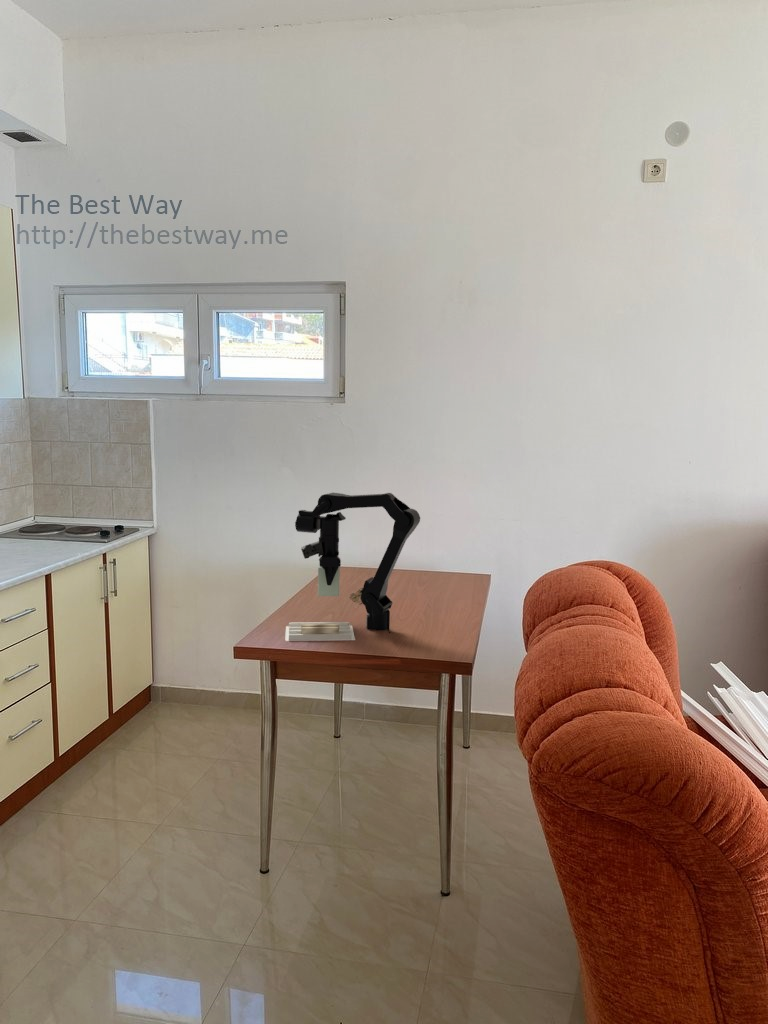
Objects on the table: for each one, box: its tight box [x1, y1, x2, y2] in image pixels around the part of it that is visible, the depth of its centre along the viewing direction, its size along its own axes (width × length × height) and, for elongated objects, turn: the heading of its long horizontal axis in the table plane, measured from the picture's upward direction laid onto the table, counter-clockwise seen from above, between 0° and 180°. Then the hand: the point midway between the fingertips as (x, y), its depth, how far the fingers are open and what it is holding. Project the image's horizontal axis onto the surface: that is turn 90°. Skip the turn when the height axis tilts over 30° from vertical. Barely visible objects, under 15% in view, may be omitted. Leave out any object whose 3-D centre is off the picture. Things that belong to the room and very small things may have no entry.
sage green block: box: [317, 565, 341, 597], centre depth 242 cm, size 6×3×9 cm, turn 96°
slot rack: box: [284, 621, 356, 642], centre depth 231 cm, size 20×15×2 cm
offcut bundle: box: [301, 624, 339, 634], centre depth 227 cm, size 11×3×4 cm, turn 96°
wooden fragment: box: [348, 587, 363, 605], centre depth 283 cm, size 26×11×1 cm, turn 164°
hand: (328, 584), depth 242 cm, fingers closed on sage green block, 3 cm apart
